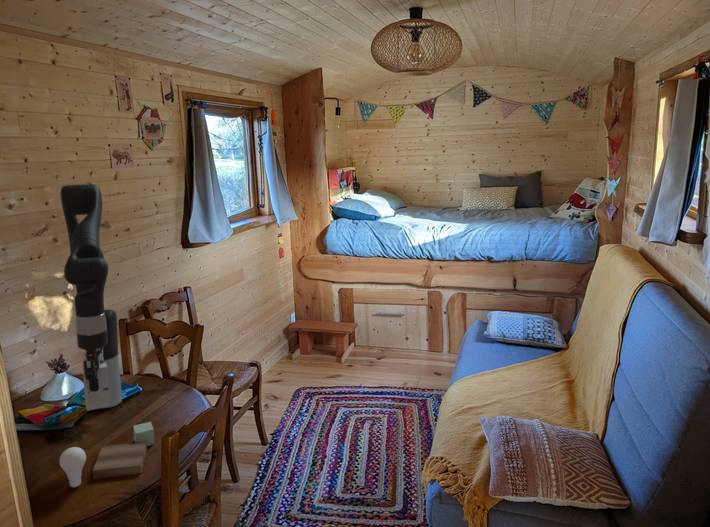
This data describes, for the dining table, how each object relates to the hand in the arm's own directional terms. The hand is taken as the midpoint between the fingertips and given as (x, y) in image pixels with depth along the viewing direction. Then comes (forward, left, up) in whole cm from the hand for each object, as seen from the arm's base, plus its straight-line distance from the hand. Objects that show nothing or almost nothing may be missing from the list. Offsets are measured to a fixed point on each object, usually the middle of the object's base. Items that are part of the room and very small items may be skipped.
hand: (96, 386), depth 151 cm
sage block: (-3, +11, -21) cm, 24 cm away
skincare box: (0, 0, -6) cm, 6 cm away
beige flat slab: (+7, +6, -21) cm, 23 cm away
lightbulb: (+15, -4, -21) cm, 26 cm away
